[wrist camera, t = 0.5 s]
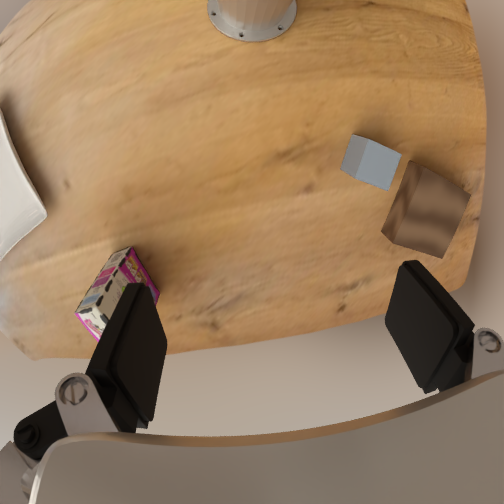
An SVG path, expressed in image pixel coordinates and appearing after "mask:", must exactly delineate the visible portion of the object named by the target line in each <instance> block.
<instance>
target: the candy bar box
mask: <svg viewBox="0 0 504 504" xmlns="http://www.w3.org/2000/svg"><path fill="white" fill-rule="evenodd" d="M137 282H143V283H144V284H145V286H149V287H150V290H151V293H152V296H153V300H154V303H155V306H156V304H157V301H158V298H159V295H160V293H159V291H158V290H157V288H156V286H155V285H154V283H153V282H152V280H151V278H150V277H149V275H148V274H147V272H146V270H145V269H144V267H143V265H142V263H141V262H140V260H139V258H138V257H137V255H136V253H135V251H134V250H133V248H132V247H128V248H126V249H124V250H121V251H118V252H116V253H114V254H112V255H111V256H110V258H109V259H108V261H107V262H106V264H105V265H104V267H103V268H102V270H101V271H100V273H99V274H98V276H97V277H96V279H95V281H94V282H93V284H92V285H91V287H90V288H89V290H88V291H87V293H86V295H85V296H84V298H83V300H82V301H81V303H80V305H79V306H78V308H77V310H76V311H75V313H74V314H75V315H76V316H77V318H78V319H79V320H80V321H81V322H82V324H83V325H84V326H85V327H86V329H87V330H88V331H89V332H90V333H91V334H92V336H93V337H94V338H95V339H96V340H97V341H98V342H99V340H100V337H101V335H102V333H103V331H104V328H105V326H106V324H107V322H108V321H109V319H110V318H111V316H112V313H113V311H114V309H115V307H116V305H117V303H118V301H119V299H120V297H121V295H122V293H123V291H124V289H125V287H126V285H127V284H128V283H137Z"/></svg>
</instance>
